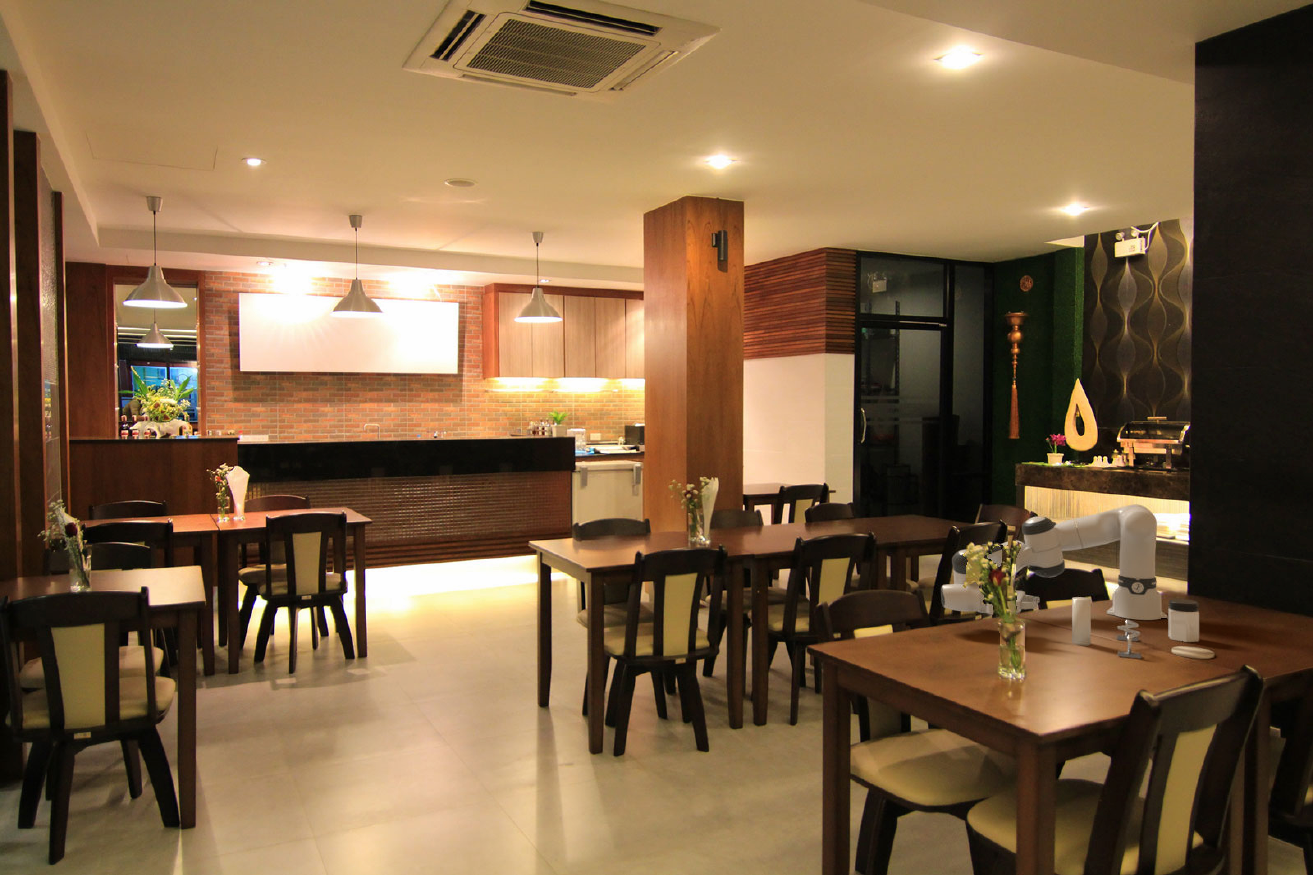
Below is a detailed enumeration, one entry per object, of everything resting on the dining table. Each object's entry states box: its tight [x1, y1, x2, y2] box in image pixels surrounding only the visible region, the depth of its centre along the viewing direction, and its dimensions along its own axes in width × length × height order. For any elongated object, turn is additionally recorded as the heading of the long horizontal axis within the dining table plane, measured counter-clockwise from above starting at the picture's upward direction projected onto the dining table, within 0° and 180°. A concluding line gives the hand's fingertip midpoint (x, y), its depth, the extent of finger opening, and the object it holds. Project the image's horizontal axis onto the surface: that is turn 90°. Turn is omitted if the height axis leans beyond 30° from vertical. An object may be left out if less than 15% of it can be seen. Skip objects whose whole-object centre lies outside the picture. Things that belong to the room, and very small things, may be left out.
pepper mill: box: [1071, 596, 1092, 647], centre depth 282 cm, size 5×5×14 cm
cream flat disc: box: [1170, 645, 1215, 660], centre depth 269 cm, size 11×11×1 cm
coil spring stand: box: [1116, 618, 1142, 660], centre depth 276 cm, size 25×6×6 cm, turn 154°
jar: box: [1167, 598, 1200, 643], centre depth 286 cm, size 9×8×12 cm
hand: (1038, 602), depth 287 cm, fingers open, 8 cm apart
